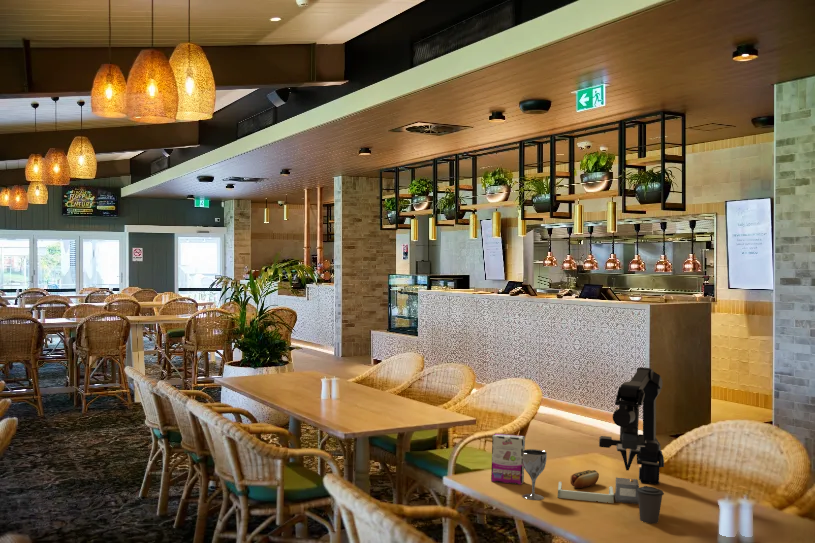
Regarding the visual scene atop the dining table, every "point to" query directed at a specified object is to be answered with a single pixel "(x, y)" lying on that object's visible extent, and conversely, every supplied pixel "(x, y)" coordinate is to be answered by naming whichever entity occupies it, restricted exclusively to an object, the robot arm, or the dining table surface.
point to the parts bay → (586, 495)
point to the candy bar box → (507, 459)
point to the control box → (626, 490)
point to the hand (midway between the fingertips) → (627, 470)
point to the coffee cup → (649, 503)
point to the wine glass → (534, 468)
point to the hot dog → (584, 478)
